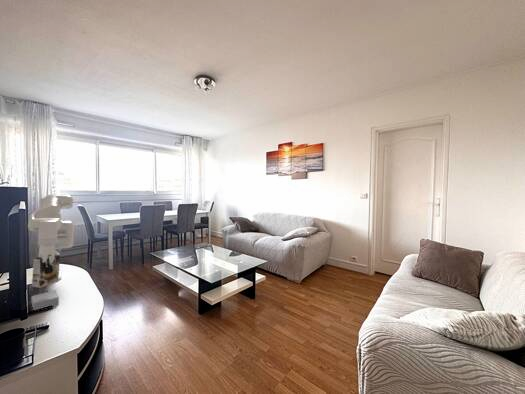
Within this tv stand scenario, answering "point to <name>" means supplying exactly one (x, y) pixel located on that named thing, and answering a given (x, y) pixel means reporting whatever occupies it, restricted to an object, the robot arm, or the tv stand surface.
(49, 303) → the base block
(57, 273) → the coffee box
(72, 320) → the tv stand surface
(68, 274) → the tv stand surface
